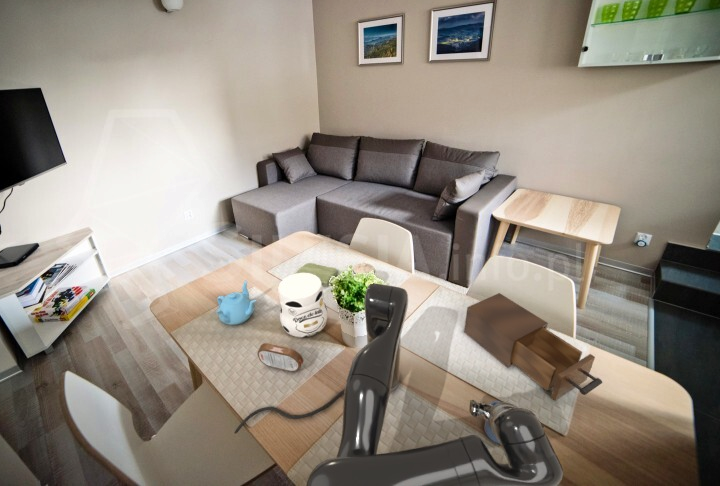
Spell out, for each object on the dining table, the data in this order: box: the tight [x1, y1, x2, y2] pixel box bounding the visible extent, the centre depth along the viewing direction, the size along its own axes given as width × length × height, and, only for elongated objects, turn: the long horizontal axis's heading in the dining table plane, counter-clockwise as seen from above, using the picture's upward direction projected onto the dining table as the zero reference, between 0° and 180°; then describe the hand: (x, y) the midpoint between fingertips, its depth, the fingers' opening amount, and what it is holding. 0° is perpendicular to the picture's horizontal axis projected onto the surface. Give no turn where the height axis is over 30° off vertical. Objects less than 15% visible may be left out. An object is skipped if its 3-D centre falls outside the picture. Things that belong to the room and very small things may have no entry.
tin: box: [257, 342, 304, 373], centre depth 103 cm, size 15×3×8 cm, turn 71°
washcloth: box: [293, 262, 339, 287], centre depth 148 cm, size 13×18×3 cm
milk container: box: [277, 272, 328, 339], centre depth 117 cm, size 17×17×18 cm
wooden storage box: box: [463, 292, 549, 369], centre depth 105 cm, size 17×15×11 cm
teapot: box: [214, 280, 257, 326], centre depth 126 cm, size 15×15×10 cm
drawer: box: [511, 327, 603, 402], centre depth 92 cm, size 20×14×9 cm
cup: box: [483, 400, 501, 445], centre depth 80 cm, size 6×6×7 cm
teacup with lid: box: [352, 262, 376, 275], centre depth 137 cm, size 12×9×12 cm
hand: (500, 412), depth 80 cm, fingers open, 8 cm apart
